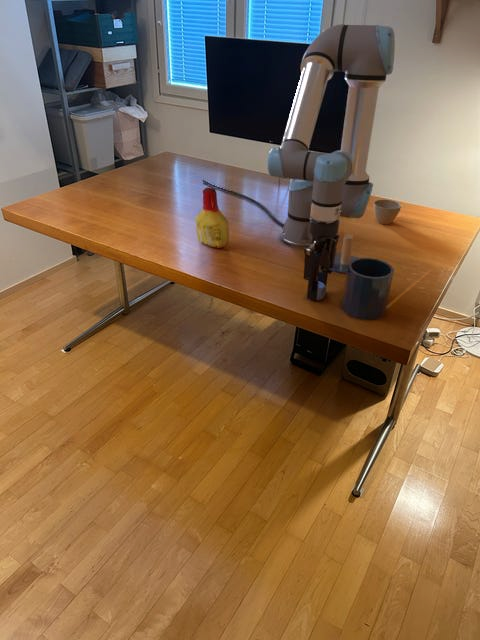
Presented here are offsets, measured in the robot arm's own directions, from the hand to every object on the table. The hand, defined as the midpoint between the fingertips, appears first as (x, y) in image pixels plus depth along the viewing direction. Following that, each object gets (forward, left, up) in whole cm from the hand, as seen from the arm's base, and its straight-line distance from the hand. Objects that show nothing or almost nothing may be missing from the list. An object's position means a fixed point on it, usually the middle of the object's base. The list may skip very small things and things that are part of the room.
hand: (316, 295), depth 137 cm
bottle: (-46, +5, -1) cm, 46 cm away
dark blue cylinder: (+13, +4, 0) cm, 14 cm away
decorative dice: (0, 0, -1) cm, 1 cm away
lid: (-4, +22, 0) cm, 22 cm away
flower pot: (-12, +64, -1) cm, 65 cm away
